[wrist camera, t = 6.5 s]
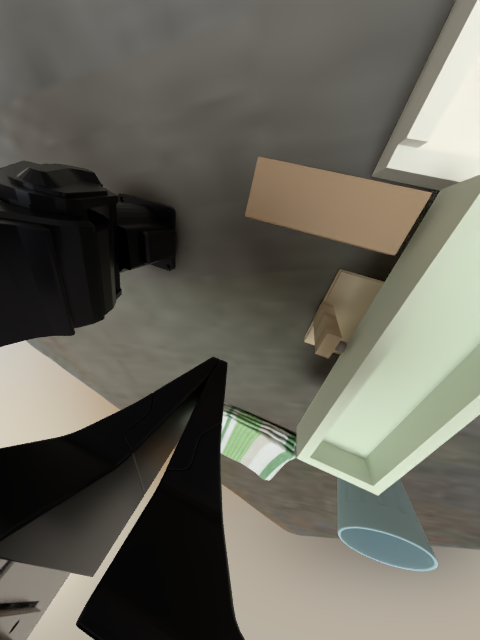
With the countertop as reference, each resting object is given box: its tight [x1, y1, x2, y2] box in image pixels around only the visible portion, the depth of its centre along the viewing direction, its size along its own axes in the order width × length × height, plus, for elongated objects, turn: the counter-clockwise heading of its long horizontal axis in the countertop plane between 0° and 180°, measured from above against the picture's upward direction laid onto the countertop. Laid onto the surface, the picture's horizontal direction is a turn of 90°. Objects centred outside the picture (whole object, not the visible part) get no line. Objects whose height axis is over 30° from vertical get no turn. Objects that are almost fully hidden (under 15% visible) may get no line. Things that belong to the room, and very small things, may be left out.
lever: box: [245, 156, 480, 495], centre depth 13 cm, size 16×20×3 cm
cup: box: [337, 477, 438, 571], centre depth 22 cm, size 8×8×10 cm
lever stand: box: [304, 269, 384, 358], centre depth 15 cm, size 11×8×7 cm
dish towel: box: [221, 402, 297, 481], centre depth 35 cm, size 17×23×4 cm
